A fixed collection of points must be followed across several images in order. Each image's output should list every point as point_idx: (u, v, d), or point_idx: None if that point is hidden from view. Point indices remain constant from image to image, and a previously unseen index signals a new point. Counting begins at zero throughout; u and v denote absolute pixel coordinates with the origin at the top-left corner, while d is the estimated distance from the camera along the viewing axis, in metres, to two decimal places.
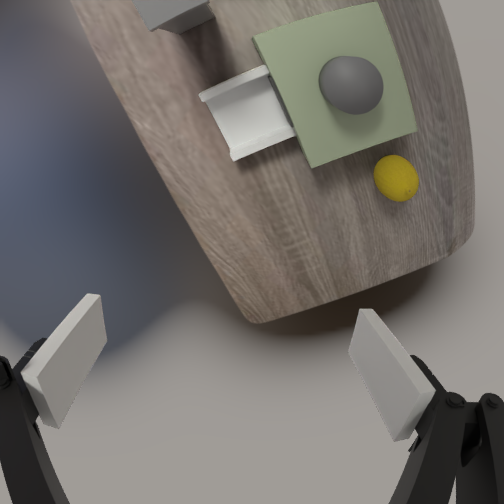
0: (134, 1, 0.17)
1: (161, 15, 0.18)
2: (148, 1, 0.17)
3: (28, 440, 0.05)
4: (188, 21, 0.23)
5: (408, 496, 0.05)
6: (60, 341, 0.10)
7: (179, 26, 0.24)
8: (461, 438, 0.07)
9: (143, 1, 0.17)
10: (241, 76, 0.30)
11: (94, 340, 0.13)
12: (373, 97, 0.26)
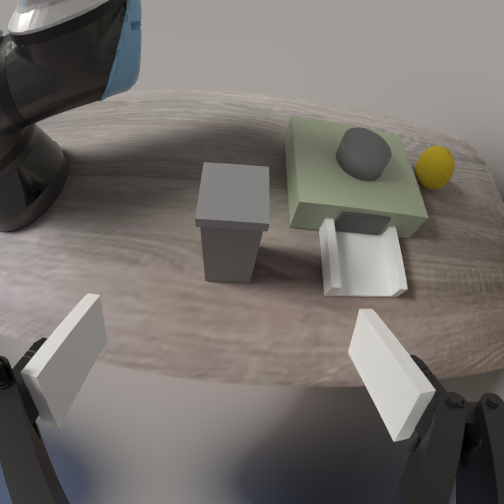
0: (221, 218, 0.21)
1: (259, 205, 0.22)
2: (233, 207, 0.21)
3: (28, 440, 0.05)
4: None
5: (408, 496, 0.05)
6: (60, 341, 0.10)
7: None
8: (461, 437, 0.07)
9: (229, 211, 0.21)
10: (329, 242, 0.32)
11: (94, 340, 0.13)
12: (378, 139, 0.33)
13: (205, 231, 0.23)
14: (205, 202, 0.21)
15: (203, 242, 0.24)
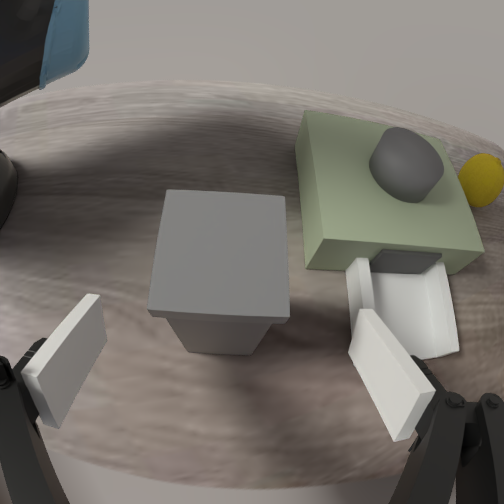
0: (197, 309, 0.11)
1: (269, 277, 0.11)
2: (219, 283, 0.11)
3: (28, 440, 0.05)
4: None
5: (408, 496, 0.05)
6: (60, 341, 0.10)
7: None
8: (461, 437, 0.07)
9: (211, 292, 0.11)
10: (363, 293, 0.22)
11: (94, 340, 0.13)
12: (424, 144, 0.23)
13: None
14: (166, 273, 0.11)
15: (173, 326, 0.14)
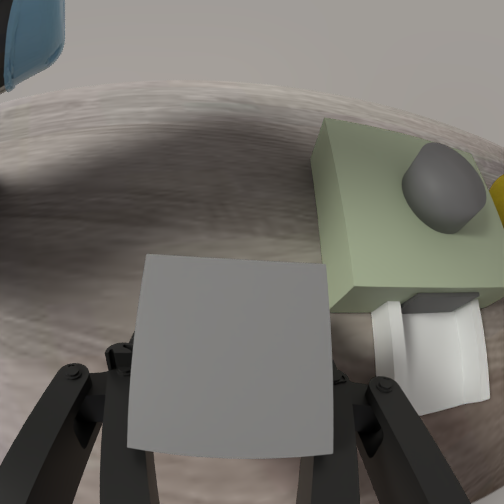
0: (200, 451, 0.06)
1: (305, 400, 0.07)
2: (232, 415, 0.07)
3: None
4: None
5: (311, 487, 0.06)
6: None
7: None
8: (351, 414, 0.08)
9: (220, 428, 0.06)
10: (394, 345, 0.17)
11: None
12: (464, 163, 0.18)
13: None
14: (151, 397, 0.07)
15: None
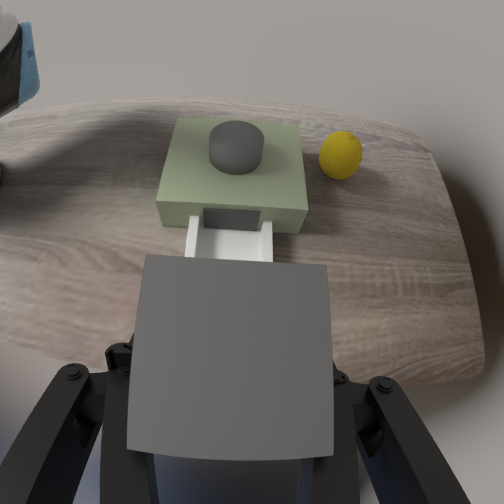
0: (200, 452, 0.06)
1: (306, 401, 0.07)
2: (231, 416, 0.07)
3: None
4: None
5: (311, 487, 0.06)
6: None
7: None
8: (351, 414, 0.08)
9: (220, 429, 0.06)
10: (188, 239, 0.32)
11: None
12: (252, 130, 0.33)
13: None
14: (151, 398, 0.07)
15: None
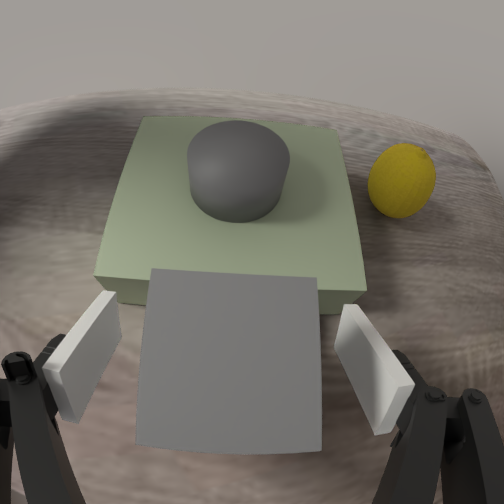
0: (201, 447, 0.07)
1: (296, 402, 0.08)
2: (230, 414, 0.07)
3: (47, 437, 0.06)
4: None
5: (392, 493, 0.05)
6: (80, 337, 0.10)
7: None
8: (442, 432, 0.07)
9: (220, 426, 0.07)
10: None
11: (110, 336, 0.14)
12: (267, 138, 0.18)
13: None
14: (157, 399, 0.07)
15: None
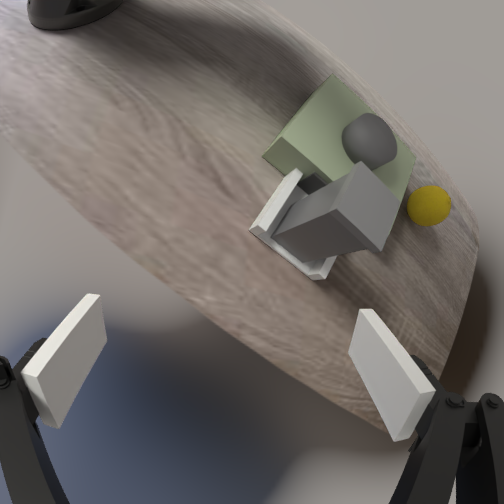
0: (354, 223, 0.21)
1: (382, 230, 0.22)
2: (365, 219, 0.22)
3: (28, 440, 0.05)
4: None
5: (408, 496, 0.05)
6: (60, 341, 0.10)
7: None
8: (461, 438, 0.07)
9: (361, 220, 0.22)
10: (284, 188, 0.31)
11: (94, 340, 0.13)
12: (391, 139, 0.31)
13: (326, 217, 0.23)
14: (349, 199, 0.22)
15: (313, 220, 0.25)
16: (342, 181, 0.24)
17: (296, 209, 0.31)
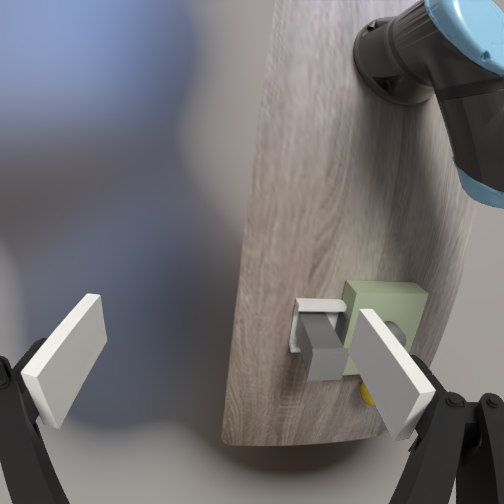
0: (312, 363, 0.39)
1: (317, 377, 0.40)
2: (317, 367, 0.40)
3: (28, 440, 0.05)
4: None
5: (408, 496, 0.05)
6: (60, 341, 0.10)
7: None
8: (461, 437, 0.07)
9: (315, 366, 0.39)
10: (329, 307, 0.48)
11: (94, 340, 0.13)
12: None
13: (311, 347, 0.41)
14: (322, 356, 0.39)
15: (309, 339, 0.43)
16: (336, 345, 0.41)
17: (319, 320, 0.48)
